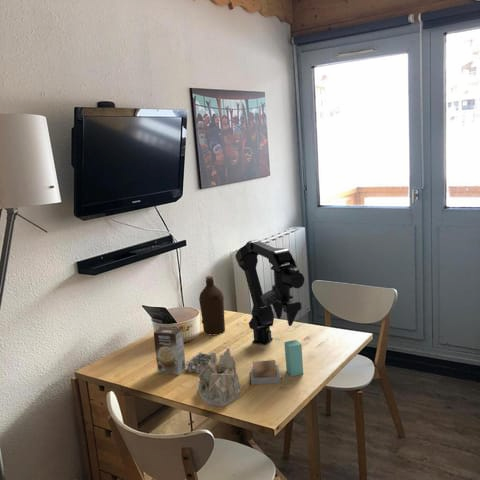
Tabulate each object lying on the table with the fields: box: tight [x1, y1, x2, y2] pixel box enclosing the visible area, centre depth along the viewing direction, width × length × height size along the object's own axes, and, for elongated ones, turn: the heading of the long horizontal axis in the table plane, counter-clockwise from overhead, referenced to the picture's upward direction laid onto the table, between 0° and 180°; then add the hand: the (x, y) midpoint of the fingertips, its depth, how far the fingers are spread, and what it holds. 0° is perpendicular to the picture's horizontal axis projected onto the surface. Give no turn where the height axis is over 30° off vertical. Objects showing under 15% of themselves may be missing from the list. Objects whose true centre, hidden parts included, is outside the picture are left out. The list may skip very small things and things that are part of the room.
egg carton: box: [185, 352, 211, 374], centre depth 198 cm, size 11×8×4 cm
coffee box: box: [153, 326, 187, 376], centre depth 195 cm, size 9×6×16 cm
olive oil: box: [198, 275, 226, 336], centre depth 231 cm, size 11×11×25 cm
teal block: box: [284, 339, 304, 377], centre depth 186 cm, size 4×4×11 cm
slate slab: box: [250, 364, 282, 386], centre depth 185 cm, size 10×10×2 cm
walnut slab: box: [252, 359, 277, 378], centre depth 184 cm, size 8×8×2 cm
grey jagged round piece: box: [197, 347, 242, 407], centre depth 174 cm, size 16×16×15 cm
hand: (284, 322), depth 201 cm, fingers open, 9 cm apart
